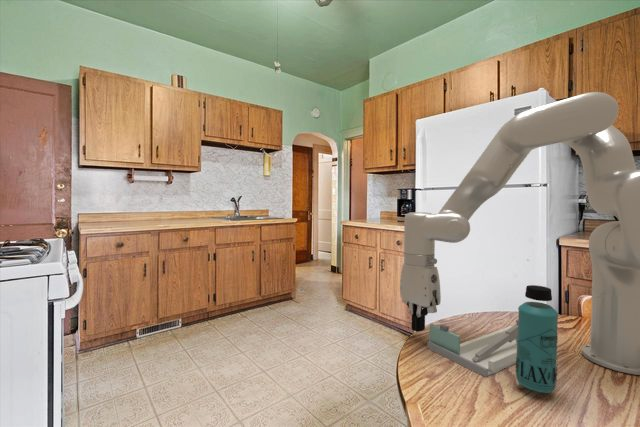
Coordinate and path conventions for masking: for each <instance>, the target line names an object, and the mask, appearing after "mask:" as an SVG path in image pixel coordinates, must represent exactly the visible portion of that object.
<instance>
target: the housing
mask: <svg viewBox="0 0 640 427" xmlns="http://www.w3.org/2000/svg"><path fill="white" fill-rule="evenodd" d="M512 326H513V325H510V326H507V327H505V328H502V329H501V328H500V329H498V330H496V331H493V332H489V333H487V334H484V335H481V336H478V337H476V338H473V339H469V340H467V341H464V342H462V343H461V342H460V356H459V355H457V354H455V353H453V352H451V351H449V350H447V349H445V348H443V347H440V346H438V345H436V344H434V343H432V342H430V341H429V340H428V341H427V344H426V345H427V348H426V349H428V350H431V351H432V352H434V353H436V354H438V355H440V356H442V357H443V358H446V359H448V360H450V361H452V362H455V363H456V364H459V365H461V366H463V367H464V368H467V369H468V370H471V371H472V370H473V372H475V373H476V372H477V373H476V374H478V373H479V375H480V374H481V375H480V376H482V375H483V376H482V377H484V376H485V377H484V378H488V377H490V376H493V375H494V374H496V373H499V372H500V370H501V371H503V370H505V369H507V368H509V367H511V365H512V366H513V364H514V365H516V364H515V363H516V360H517V359H516V356H517V352H516V350H517V343H516V340H513V341H512V342H507V343H505V344H504V345H502V346H501V347H500V348H498V349H497V350H495V351H494V352H493V353H491V354H490V355H489V356H487V357H486V358H484V359H483V360H482V361H477V362H475V361H473V360H472V359H473V357H475V354H476V353H477V352H479V351H480V350H482V349H483V348H485V347H486V346H487V345H489V344H490V343H492V342H493V341H495V340H496V339H498V338H499V337H501V336H502V335H503V334H505V332H506V331H507V330H508V329H510V328H511V327H512ZM504 368H505V369H504ZM502 369H503V370H502ZM498 371H499V372H498ZM487 376H488V377H487Z"/></svg>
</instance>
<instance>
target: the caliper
mask: <svg viewBox="0 0 640 427" xmlns="http://www.w3.org/2000/svg"><path fill="white" fill-rule="evenodd" d="M511 326H512V327H511V328H510V329H508V330H507V331H506V332H505V334H503V335H502V336H501V337H499V338H498V339H496V340H495V341H493V342H492V343H490V344H489V345H487V346H486V347H485V348H483V349H482V350H480V351H479V352H477V353H476V354H475V357H473V359H472V360H473V361H475V362H477V361H482V360H483V359H484V358H486V357H487V356H489V355H490V354H491V353H493V352H494V351H495V350H497V349H498V348H500V347H501V346H502V345H504V344H505V343H507V342H512V341H513V340H516V342H517V340H518V319H516V320H515V324H514V325H511Z"/></svg>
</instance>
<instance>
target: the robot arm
mask: <svg viewBox="0 0 640 427" xmlns="http://www.w3.org/2000/svg"><path fill="white" fill-rule="evenodd" d="M619 110H620V108H619V104H618V102H617V100H616V99H615V98H614V97H613V96H612V95H610V94H609V93H604V92H599V91H591V92H585V93H581V94H578V95H575V96H571V97H568V98H564V99H562V100H557V101H554V102H550V103H547V104H544V105H539V106H537V107H533V108H529V109H527V110H524V111H523V110H522V111H521V112H519V113H517V114H516V115H514V116H513V117H512V118H510V119H509V120H508V121H506V123H504V124H503V125H502V126H501V127H500V128H499V129H498V131H497V132H496V134H495V136H493V138H492V139H491V140H490V142H489V144H488V145H486V146H487V147H486V148H485V149H484V151H483V152H482V153H481V155H480V156H479V157H478V159H476V161H475V163H474V164H473V165H472V167H471V168H470V169H469V171H468V172H467V173H466V175H465V176H464V178H463V179H462V181H461V182H460V184H459V185H458V186H457V187H456V188H455V189H454V191H453V193H452V194H451V195H450V196H449V197H448V199H447V201H445V203H444V205H443V206H442V207H441V209H440V210H439V212H438V213H432V212H419V211H416V212H415V211H414V212H408V213H406V214H405V215H404V224H403V225H404V229H403V230H404V231H403V232H404V234H403V235H404V237H403V239H404V240H403V241H404V243H403V247H404V248H403V250H404V251H403V263H402V267H401V272H400V281H399V282H400V284H399V295H400V298H401V302H402V303H404V304H405V305H406V306H407V308H408V309H409V314H410V315H411V331H414V332H416V333H418V332H423V331H425V330H426V316H428V314H434V313H435V314H436V313H437V312H438V309H437V306H439V305H441V300H442V299H441V282H440V275H439V269H438V266H435V265H436V264H437V262H438V260H437V258H435V257H436V256H435V250H436V249H435V246H436V245H435V244H436V242H435V241H439V242H443V243H450V244H455V243H460V242H462V241H464V240H465V239H466V238H467V237H468V236H469V234H470V232H471V224H470V222H469V220H470V218H472V216H473V215H474V214H475V212H476V211H477V210H478V209H479V208H480V207H481V206H482V205H483V204H484V203H485V202H487V201H488V200H489V199H490V198H492V197H494V196H495V195H497V194H498V193H499V192H500V191H501V190H502V189H503V188H504V187H505V186H506V185H507V183H508V182H509V181H510V179H511V178H512V177H513V175H514V174H515V173H516V171H517V169H519V167H520V166H521V165H522V163H523V162H524V161H525V159H526V158H527V157H528V155H530V152H532V151H533V150H535V149H538V148H541V147H542V148H543V147H546V146H551V145H554V144H555V145H556V144H559V143H562V144H564V145H566V146H568V147H570V148H572V150H574V151H575V152H576V154H577V155H578V157H579V158H580V161H581V166H582V169H583V175H584V180H585V187H586V193H587V200H588V203H589V205H590V208H591V209H593V210H594V212H597V213H599V214H601V215H605V216H613V217H618V220H616V221H615V220H613V221H608V222H604V223H602V224H600V225H598V226H596V227H595V229H594V230H592V232H591V234H590V235H589V240H588V250H589V252H588V253H589V256H590V262H591V263H590V264H591V272H592V273H591V277H592V278H591V303H590V306H591V309H590V339H589V340H590V343H587V344H584V345H582V346H581V350H580V351H581V354H582V355H583V356H584V357H585V358H586V359H587V360H589V361H591V362H593V363H594V364H597V365H599V366H601V367H604V368H607V369H610V370H612V371H616V372H619V373H620V372H621V373H624V374H630V375H636V376H640V169H637V166H636V163H635V157H634V154H633V151H632V146H631V144H630V142H629V140H628V138H627V137H626V136H625V135H624V133H623V132H621V131H620V129H618V128H617V127H615V126H614V125H613V124H614V123H615V121H616V120H617V118H618V115H619Z"/></svg>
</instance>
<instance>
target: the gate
mask: <svg viewBox="0 0 640 427" xmlns="http://www.w3.org/2000/svg"><path fill="white" fill-rule="evenodd" d="M428 333H429V335H428V336H429V338H428V339H429V340H428V341H430V342H432V343H434V344H436V345H438V346H440V347H443V348H445V349H447V350H449V351H451V352H453V353H455V354H457V355H459V356H460V344H461V335H460V334H456V333H454V332H452V331H450V327H449V326H448V325H446V324H440V325H439V326H437V325H434V324H433V323H432V324H429V332H428Z"/></svg>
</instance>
